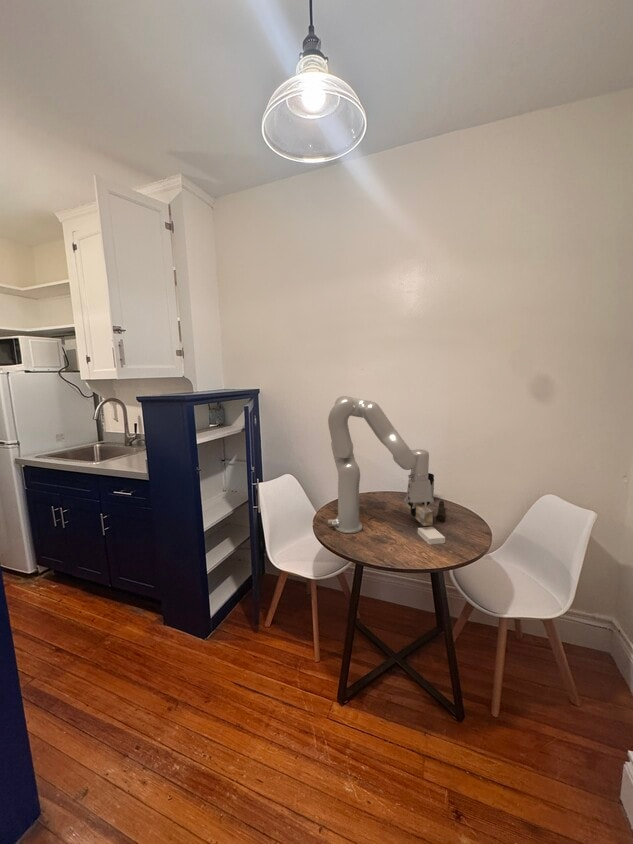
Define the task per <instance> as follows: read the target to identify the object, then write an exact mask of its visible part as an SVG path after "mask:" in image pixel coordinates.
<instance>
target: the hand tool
mask: <svg viewBox="0 0 633 844" xmlns="http://www.w3.org/2000/svg"><path fill="white" fill-rule="evenodd" d="M445 515H446V512H445V502H444V500H439V501H438V509H437V514H436V515H435V520H436V522H439V523H444V522H445V520H446V516H445Z"/></svg>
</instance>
